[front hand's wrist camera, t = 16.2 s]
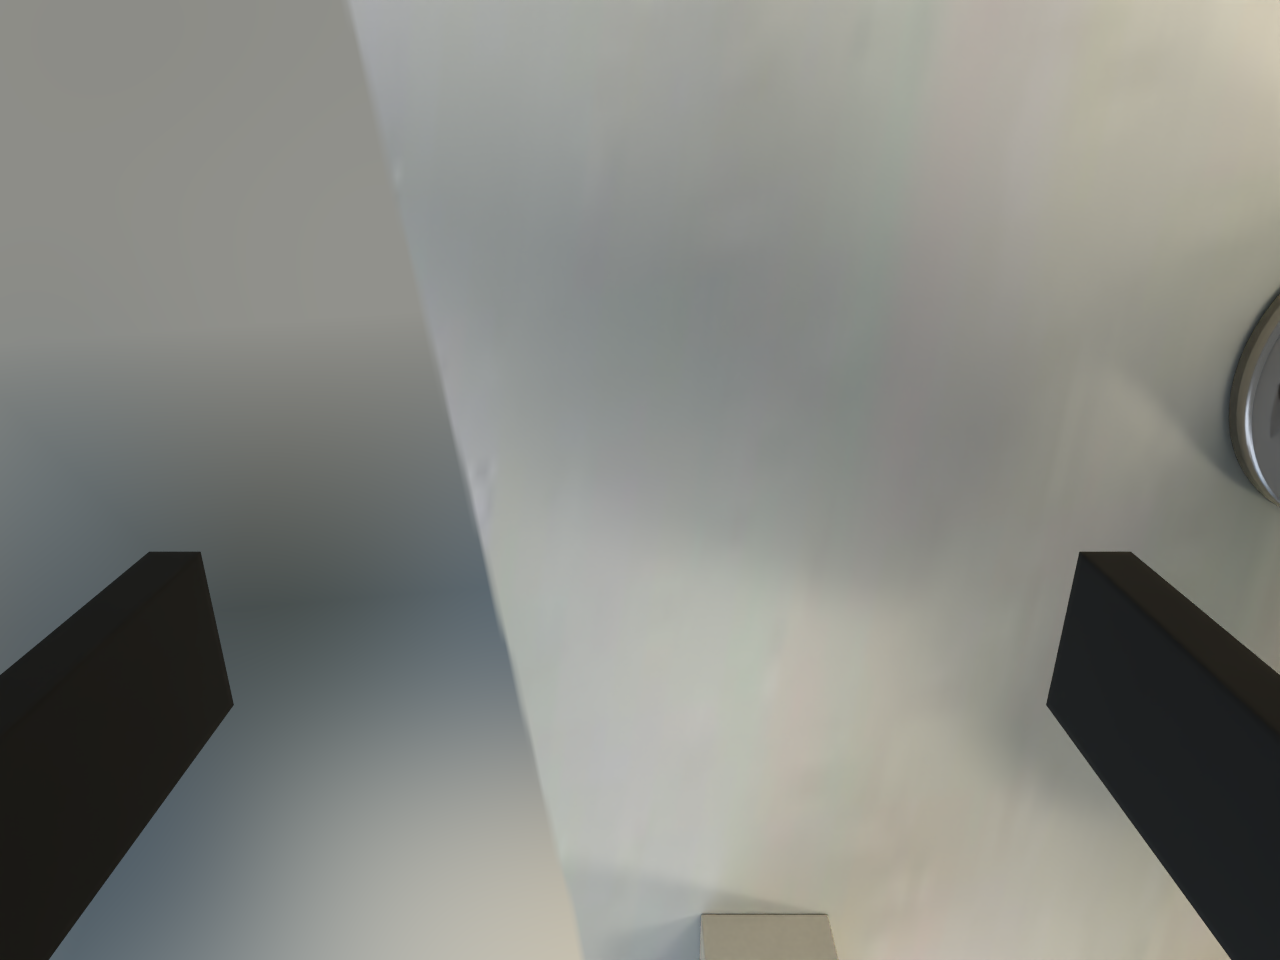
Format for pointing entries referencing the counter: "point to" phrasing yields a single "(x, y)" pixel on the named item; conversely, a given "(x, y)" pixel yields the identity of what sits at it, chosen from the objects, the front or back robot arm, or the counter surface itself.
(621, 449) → the counter surface
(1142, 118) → the counter surface
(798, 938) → the brick
